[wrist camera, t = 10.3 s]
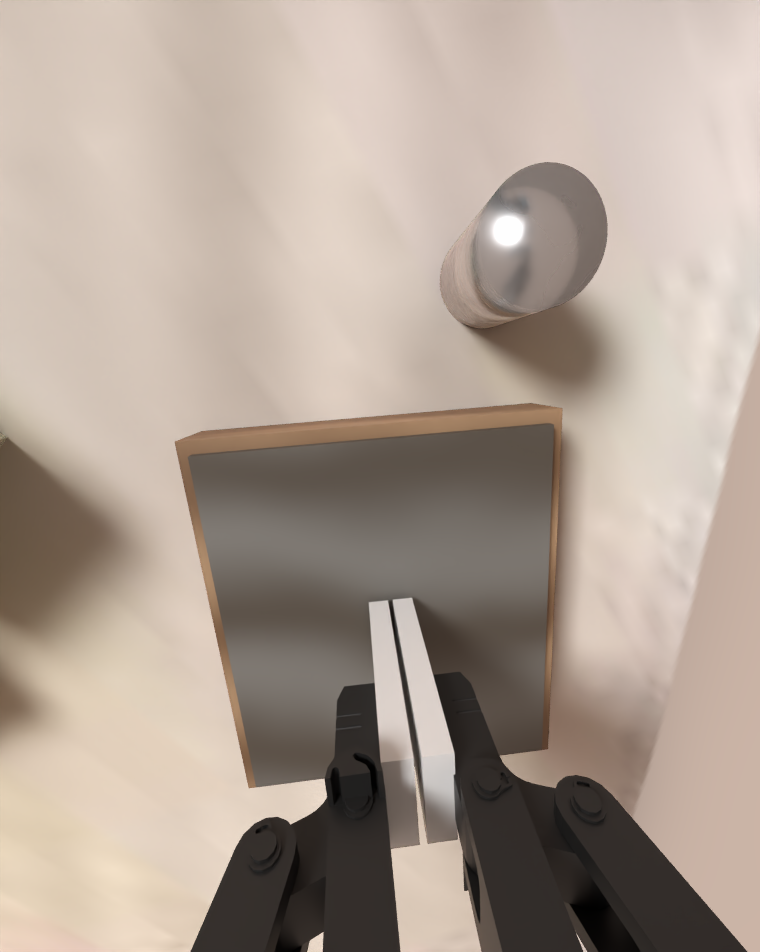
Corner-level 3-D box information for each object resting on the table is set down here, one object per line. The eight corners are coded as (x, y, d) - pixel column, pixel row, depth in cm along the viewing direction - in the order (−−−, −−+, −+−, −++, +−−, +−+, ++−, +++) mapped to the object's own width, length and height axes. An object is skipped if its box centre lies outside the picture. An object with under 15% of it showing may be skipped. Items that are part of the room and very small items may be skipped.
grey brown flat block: (201, 431, 16) (169, 443, 13) (531, 403, 17) (568, 409, 14) (261, 737, 20) (246, 797, 17) (524, 704, 21) (552, 757, 18)
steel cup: (438, 232, 15) (479, 165, 10) (529, 226, 15) (612, 158, 10) (441, 331, 16) (480, 313, 11) (527, 325, 16) (602, 304, 11)
